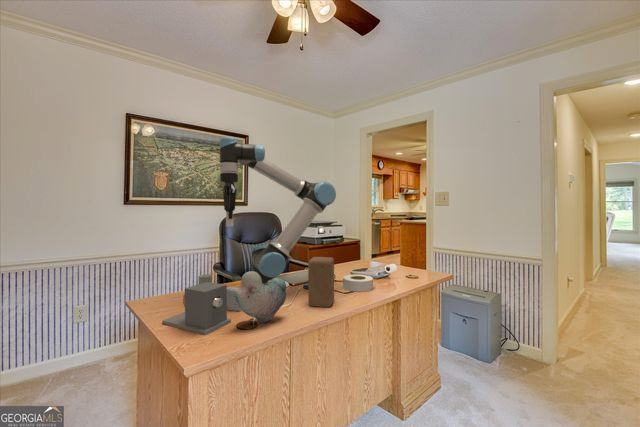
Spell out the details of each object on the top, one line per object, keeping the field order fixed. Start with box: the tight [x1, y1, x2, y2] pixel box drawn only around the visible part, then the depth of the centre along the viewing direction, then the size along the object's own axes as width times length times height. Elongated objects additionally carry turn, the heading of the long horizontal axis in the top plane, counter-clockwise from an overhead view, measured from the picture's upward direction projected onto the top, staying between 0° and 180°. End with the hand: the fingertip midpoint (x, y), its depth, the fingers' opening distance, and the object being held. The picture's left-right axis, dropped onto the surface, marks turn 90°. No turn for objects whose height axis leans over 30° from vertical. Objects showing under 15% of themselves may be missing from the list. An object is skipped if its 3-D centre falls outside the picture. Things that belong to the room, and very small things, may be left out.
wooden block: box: [307, 256, 335, 308], centre depth 131 cm, size 10×10×20 cm
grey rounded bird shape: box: [235, 270, 287, 323], centre depth 110 cm, size 21×9×20 cm, turn 130°
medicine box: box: [226, 286, 243, 312], centre depth 124 cm, size 8×4×9 cm, turn 71°
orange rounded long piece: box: [182, 293, 223, 307], centre depth 108 cm, size 14×8×8 cm, turn 64°
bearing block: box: [161, 282, 232, 336], centre depth 110 cm, size 22×12×14 cm, turn 64°
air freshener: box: [198, 273, 213, 284], centre depth 143 cm, size 11×8×10 cm
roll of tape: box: [342, 274, 374, 293], centre depth 156 cm, size 16×16×6 cm
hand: (229, 226), depth 132 cm, fingers closed
